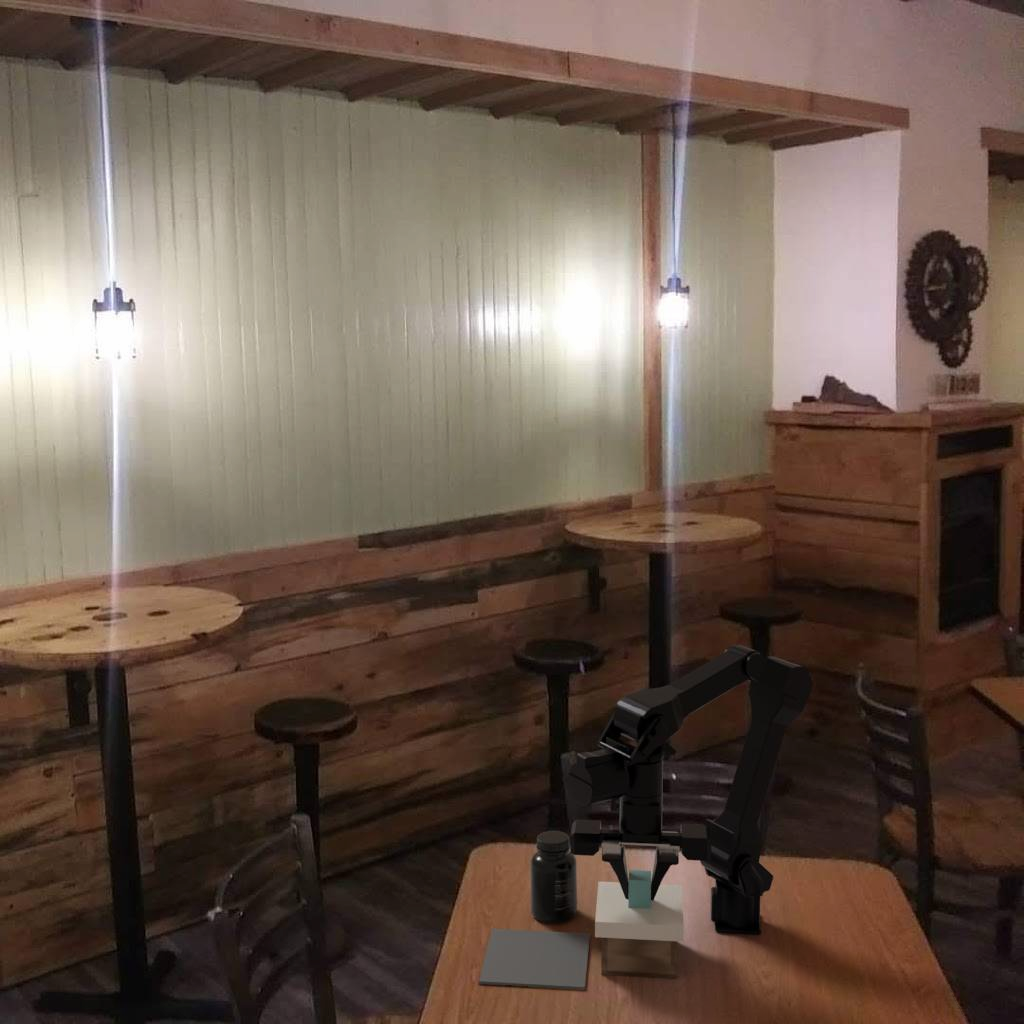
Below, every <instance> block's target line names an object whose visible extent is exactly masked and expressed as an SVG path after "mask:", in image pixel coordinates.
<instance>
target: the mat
mask: <svg viewBox="0 0 1024 1024" xmlns="http://www.w3.org/2000/svg"><path fill="white" fill-rule="evenodd" d="M590 936H591V934H590V933H587V932H586V933H584V932H565V931H562V932H561V931H546V930H527V929H510V928H509V929H506V928H505V929H504V928H491V931H490V935H489V939H488V943H487V948H486V951H485V956H484V959H483V963H482V967H481V970H480V975H479V979H478V985H493V986H506V985H512V986H511V987H514V986H513V985H517V986H516V987H523V986H528V987H527V988H540V989H541V988H544V989H546V988H547V989H561V990H578V991H581V990H582V991H585V990H586V982H587V981H586V980H587V970H588V962H589V961H588V958H589V951H590V950H589V949H590V939H591V937H590Z"/></svg>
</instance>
